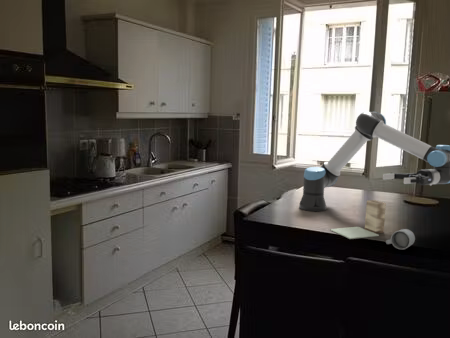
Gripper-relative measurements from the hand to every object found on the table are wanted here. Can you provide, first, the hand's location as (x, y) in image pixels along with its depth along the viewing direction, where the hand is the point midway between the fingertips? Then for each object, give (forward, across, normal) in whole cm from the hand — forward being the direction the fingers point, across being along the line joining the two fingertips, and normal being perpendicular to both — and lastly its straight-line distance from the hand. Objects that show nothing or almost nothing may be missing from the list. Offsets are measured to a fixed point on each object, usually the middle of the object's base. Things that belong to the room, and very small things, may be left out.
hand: (393, 178), depth 189 cm
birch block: (+10, 0, -24) cm, 26 cm away
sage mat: (+21, 0, -24) cm, 32 cm away
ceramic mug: (+16, -21, -25) cm, 36 cm away
